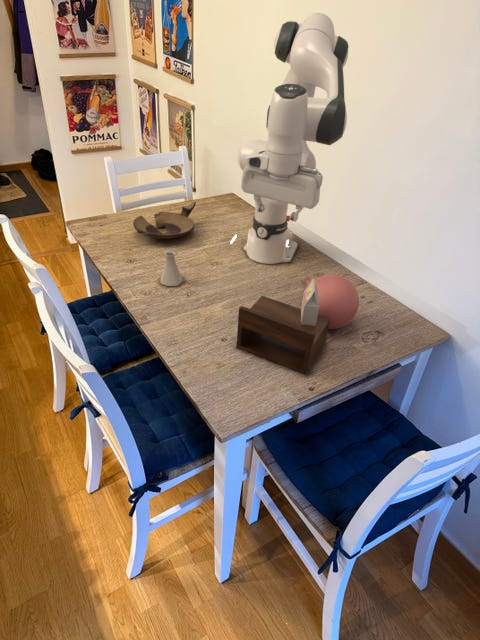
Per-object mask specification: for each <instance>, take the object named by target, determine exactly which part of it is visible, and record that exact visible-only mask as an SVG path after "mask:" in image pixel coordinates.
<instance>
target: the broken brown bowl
mask: <svg viewBox="0 0 480 640" xmlns="http://www.w3.org/2000/svg"><path fill="white" fill-rule="evenodd" d="M196 204H197V202H196V201H191V203H190V204H189V205H186V206H182V207H181V213H176V212H169V211H159V212H158V213H154V222H155V225H156V226H154V225H153V224H151V222H149V221H148V220H147V219H145V217H144V216H143V215H139V216H137V217H135V218H134V220H133V222H132V224H133V228H134V229H135V231H136V233H137V234H141V235H143V236H146V237H152V238H156V239H172V238H173V239H174V238H180V237H182V236H185V235H188V234H190V233H191V232H193V230H194V228H195V223H194V221H193V220H192V219H190V218H189V216H190V215H191V213H192V211H194V209H195V207H196ZM163 228H165V229H166V231H167V232H165V233H163V232H162V231H160V230H159V229H163Z"/></svg>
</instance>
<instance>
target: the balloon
mask: <svg viewBox="0 0 480 640" xmlns="http://www.w3.org/2000/svg"><path fill="white" fill-rule="evenodd" d="M312 279H313V280H314V281H315V285H316V287H317V290H318V294H319V311H318V315H320V316H323V317H326V318H329V319H330V323H329V328H328V330H335V329H339V328H342V327H344V326H346V325H348V324H349V323H350V322H351V321H352V320H353V319H354V318H355V317H356V315H357V313H358V310H359V307H360V306H359V305H360V297H359V293H358V290H357V289H356V286H355V285H354V284H353V283H352V281H350V280H349V279H348V278H347V277H345V276H343V275H339V274H335V273H330V274H324V275H320V276H318V277H315V276H313V277H311V276H308V275H303V278H302V279H301V284H302V285H303V286H304V287H305V289H306V288H307V286H308V285H309V284H310V282H311V281H312Z"/></svg>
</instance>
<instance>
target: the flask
mask: <svg viewBox="0 0 480 640" xmlns="http://www.w3.org/2000/svg"><path fill="white" fill-rule="evenodd" d="M175 256H176V252H174V251H171V250H170V251H169V250H168V251H166V252H165V253H164V257H166V259H165V265H164V267H163V268H164V269H163V271H162V274H161V277H160V284H161V285H164V286H167V287H177V286H179V285H180V284H181V283H183V276H182V274H181V272H180V270H179V268H178V265H177V263H176V259H175Z"/></svg>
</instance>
